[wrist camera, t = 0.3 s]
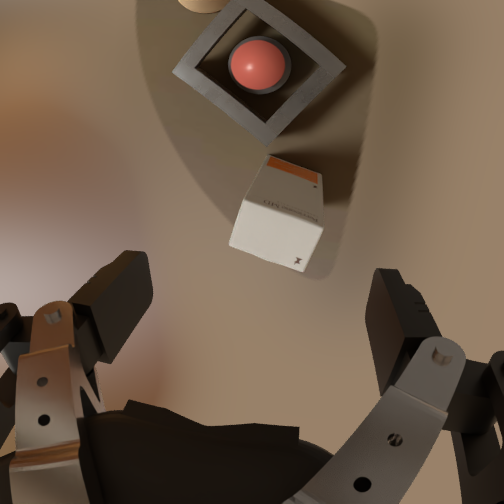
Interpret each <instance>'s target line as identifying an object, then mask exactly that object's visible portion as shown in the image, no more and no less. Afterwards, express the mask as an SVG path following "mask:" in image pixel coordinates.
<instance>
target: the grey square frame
mask: <svg viewBox="0 0 504 504" xmlns="http://www.w3.org/2000/svg"><path fill="white" fill-rule="evenodd" d="M247 10H249V11H250V12H252V13H253V14H254V15H256V16H257V17H259V18H260V19H262V20H263V21H264V22H266V23H267V24H268V25H270V26H271V27H273V28H274V29H275V30H277V31H278V32H279V33H281V34H282V35H283V36H284V37H286V38H287V39H288V40H290V41H291V42H292V43H293V44H295V45H296V46H297V47H298V48H300V49H301V50H302V51H303V52H304V53H306V54H307V55H308V56H309V57H310V58H312V59H313V60H314V61H315V62H316V63H317V64H318V65H320V67H319V68H318V69H317V70H316V71H315V72H314V73H313V74H312V75H311V76H310V77H309V78H308V79H307V80H306V81H305V82H304V83H303V84H302V85H301V86H300V87H299V88H298V89H297V90H296V91H295V92H294V93H293V94H292V95H291V96H290V97H289V99H288V100H287V101H286V102H285V103H284V104H283V105H282V106H281V107H280V108H279V109H278V110H277V111H276V112H275V113H274V114H273V115H272V116H271V118H270V119H269V120H268V121H267V120H266V119H265V118H263V117H262V116H261V115H260V114H259V113H257V112H256V111H255V110H254V109H253V108H251V107H250V106H249V105H248V104H246V103H245V102H244V101H243V100H241V99H240V98H239V97H238V96H236V95H235V94H234V93H233V92H231V91H230V90H229V89H227V88H226V87H225V86H224V85H222V84H221V83H220V82H218V81H217V80H216V79H214V78H213V77H212V76H210V75H209V74H208V73H206V72H205V71H204V70H202V69H201V68H200V67H198V66H199V65H200V64H201V63H202V61H203V60H204V59H205V58H206V56H207V55H208V54H209V53H210V51H211V50H212V49H213V48H214V47H215V45H216V44H217V43H218V42H219V41H220V40H221V38H222V37H223V36H224V35H225V34H226V33H227V31H228V30H229V29H230V28H231V27H232V26H233V25H234V24H235V23H236V21H237V20H238V19H239V18H240V17H241V16H242V15H243V14H244V13H245V12H246V11H247ZM346 67H347V66H345V65H344V64H343V63H342V62H341V61H340V60H339V59H338V58H337V57H336V56H334V55H333V54H332V53H331V52H330V51H329V50H328V49H327V48H325V47H324V46H323V45H322V44H321V43H319V42H318V41H317V40H316V39H315V38H313V37H312V36H311V35H310V34H309V33H307V32H306V31H305V30H304V29H302V28H301V27H300V26H298V25H297V24H296V23H295V22H293V21H292V20H291V19H289V18H288V17H287V16H285V15H284V14H283V13H281V12H280V11H278V10H277V9H276V8H274V7H273V6H271V5H270V4H269V3H267V2H266V1H264V0H230V2H229V3H228V4H227V5H226V6H225V7H224V8H223V9H222V10H221V11H220V13H219V14H218V15H217V16H216V17H215V18H214V19H213V21H212V22H211V23H210V24H209V25H208V26H207V28H206V29H205V30H204V31H203V32H202V34H201V35H200V36H199V37H198V39H197V40H196V41H195V42H194V44H193V45H192V46H191V47H190V49H189V50H188V51H187V52H186V54H185V55H184V56H183V58H182V59H181V60H180V62H179V63H178V64H177V66H176V67H175V68H174V70H173V71H172V73H174V74H175V75H176V76H178V77H179V78H181V79H182V80H183V81H185V82H186V83H187V84H189V85H190V86H191V87H193V88H194V89H195V90H197V91H198V92H199V93H201V94H202V95H203V96H205V97H206V98H207V99H208V100H210V101H211V102H212V103H214V104H215V105H216V106H217V107H219V108H220V109H221V110H223V111H224V112H225V113H226V114H228V115H229V116H230V117H231V118H232V119H234V120H235V121H236V122H237V123H239V124H240V125H241V126H242V127H244V128H245V129H246V130H247V131H248V132H250V133H251V134H252V135H253V136H254V137H256V138H257V139H258V140H259V141H260V142H261V143H263V144H264V145H265V146H266V147H267V146H268V145H269V144H270V143H271V142H272V141H273V140H274V139H275V138H276V137H277V136H278V135H279V134H280V133H281V132H282V131H283V130H284V128H285V127H286V126H287V125H288V124H289V123H290V122H291V121H292V120H293V119H294V118H295V117H296V116H297V115H298V114H299V113H300V112H301V111H302V110H303V109H304V108H305V107H306V106H307V105H308V104H309V103H310V102H311V101H312V100H313V99H314V98H315V97H316V96H317V95H318V94H319V93H320V92H321V91H322V90H323V89H324V88H325V87H326V86H327V85H328V84H329V83H330V82H331V81H332V80H333V79H334V78H335V77H336V76H337V75H338V74H339V73H341V72H342V71H343V70H344V69H345V68H346Z"/></svg>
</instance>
